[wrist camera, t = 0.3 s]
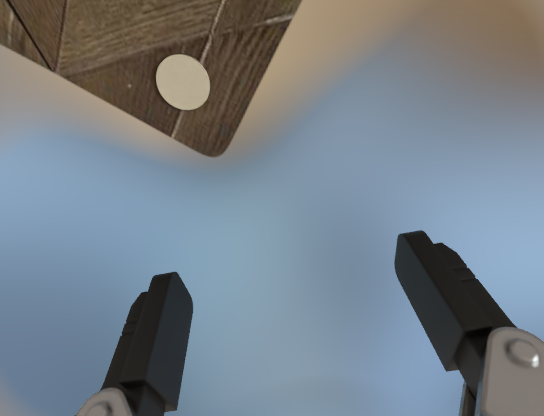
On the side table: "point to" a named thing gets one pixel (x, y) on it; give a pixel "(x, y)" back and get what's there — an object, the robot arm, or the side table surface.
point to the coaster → (183, 81)
